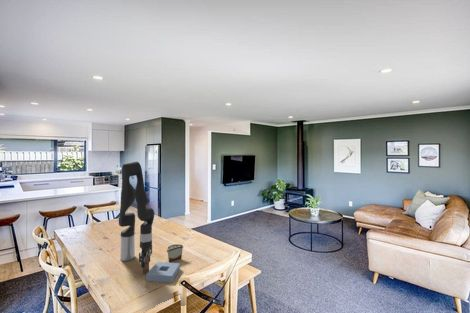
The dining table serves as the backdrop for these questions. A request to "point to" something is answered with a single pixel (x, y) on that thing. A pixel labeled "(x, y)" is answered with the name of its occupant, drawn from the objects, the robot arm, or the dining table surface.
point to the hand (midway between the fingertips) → (145, 264)
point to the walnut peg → (146, 265)
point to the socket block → (163, 272)
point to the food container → (174, 252)
